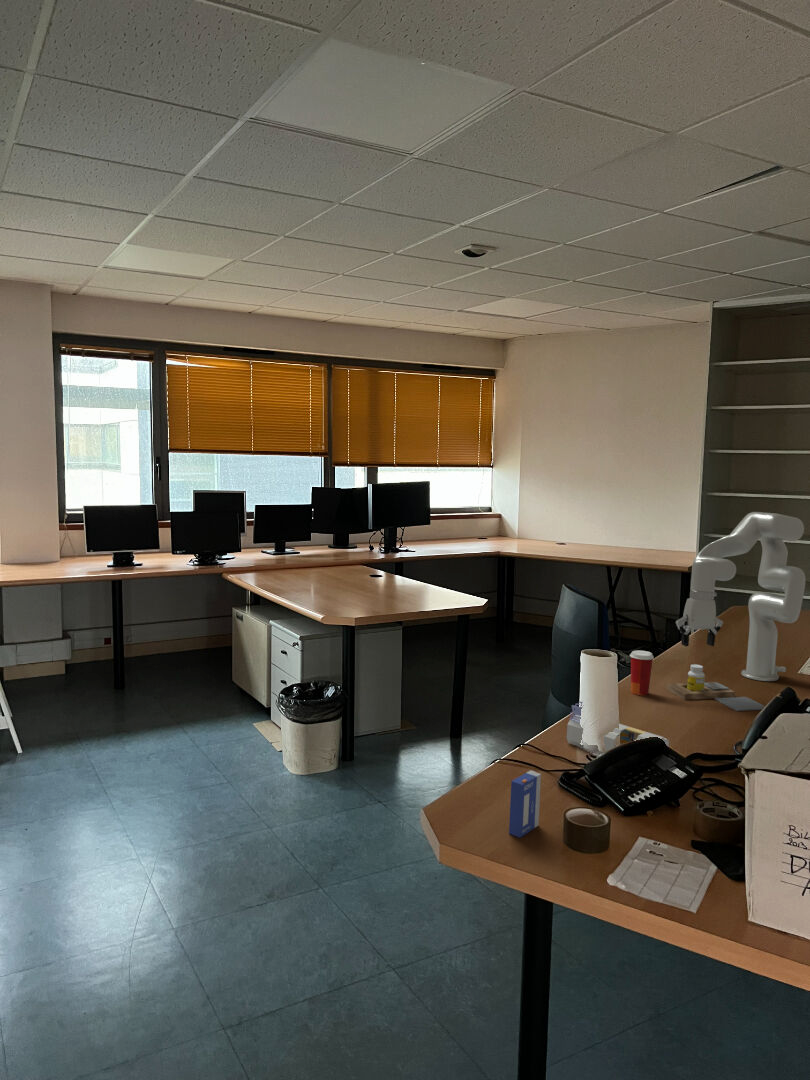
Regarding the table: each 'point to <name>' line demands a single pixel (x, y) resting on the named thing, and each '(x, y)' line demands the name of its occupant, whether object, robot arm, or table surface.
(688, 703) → the table surface
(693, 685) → the supplement bottle
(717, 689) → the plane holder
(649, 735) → the diorama
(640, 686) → the paper cup
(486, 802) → the table surface
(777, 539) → the robot arm
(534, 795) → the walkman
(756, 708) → the rubber mat
